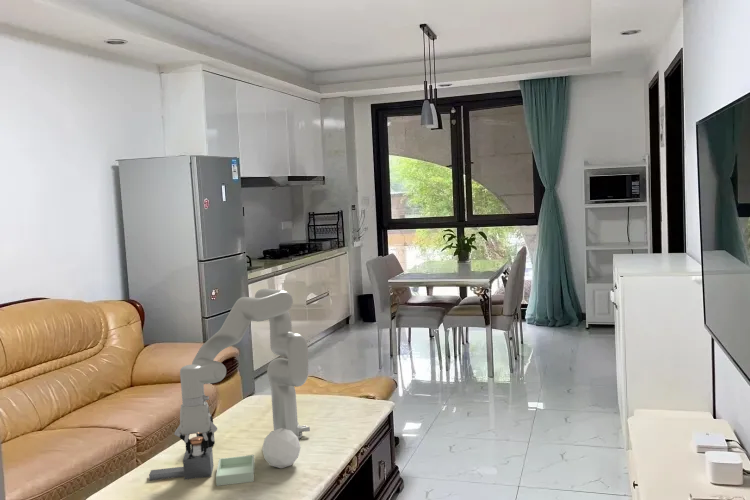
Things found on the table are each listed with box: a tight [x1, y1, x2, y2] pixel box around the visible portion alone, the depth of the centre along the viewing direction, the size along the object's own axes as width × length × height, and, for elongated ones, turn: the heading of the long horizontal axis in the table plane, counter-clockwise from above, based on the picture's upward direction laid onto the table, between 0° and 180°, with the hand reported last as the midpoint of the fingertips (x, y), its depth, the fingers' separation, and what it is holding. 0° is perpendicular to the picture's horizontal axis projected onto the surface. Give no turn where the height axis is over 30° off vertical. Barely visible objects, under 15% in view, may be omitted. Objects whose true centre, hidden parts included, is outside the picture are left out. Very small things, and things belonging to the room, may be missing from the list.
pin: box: [189, 436, 204, 457], centre depth 231 cm, size 5×5×12 cm
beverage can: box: [196, 413, 216, 448], centre depth 256 cm, size 7×7×12 cm
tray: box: [215, 454, 255, 487], centre depth 229 cm, size 15×12×3 cm
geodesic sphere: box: [262, 426, 302, 469], centre depth 234 cm, size 14×14×14 cm
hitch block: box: [148, 446, 214, 481], centre depth 231 cm, size 21×9×7 cm, turn 99°
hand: (197, 450), depth 231 cm, fingers closed on pin, 4 cm apart
